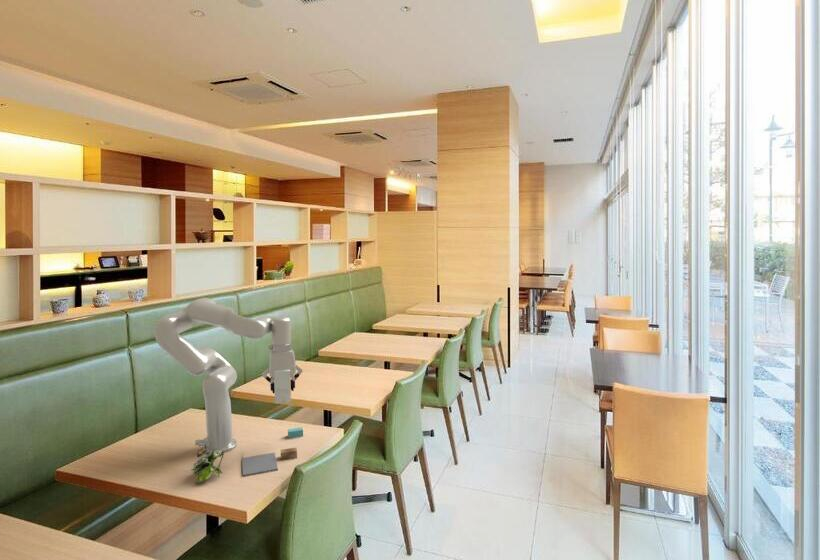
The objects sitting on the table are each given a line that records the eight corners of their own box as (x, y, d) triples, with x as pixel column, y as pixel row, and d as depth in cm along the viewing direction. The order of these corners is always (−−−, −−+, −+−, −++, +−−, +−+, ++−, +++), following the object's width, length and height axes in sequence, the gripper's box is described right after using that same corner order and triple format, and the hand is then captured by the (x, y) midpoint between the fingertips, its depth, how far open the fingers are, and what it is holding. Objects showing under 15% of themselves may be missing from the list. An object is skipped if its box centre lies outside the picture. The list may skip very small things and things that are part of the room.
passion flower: (203, 487, 171) (210, 453, 177) (229, 485, 168) (234, 450, 174) (181, 483, 162) (189, 447, 168) (208, 481, 159) (215, 444, 165)
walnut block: (281, 460, 180) (280, 453, 180) (281, 457, 183) (280, 449, 183) (297, 458, 182) (296, 450, 181) (296, 454, 184) (296, 447, 184)
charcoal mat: (243, 476, 168) (243, 474, 168) (242, 459, 181) (242, 457, 181) (277, 470, 172) (277, 468, 172) (274, 453, 185) (274, 452, 185)
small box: (291, 402, 187) (290, 370, 186) (274, 403, 186) (273, 371, 185) (291, 396, 195) (290, 365, 194) (275, 397, 194) (274, 366, 193)
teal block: (288, 439, 199) (288, 432, 199) (288, 436, 202) (287, 429, 202) (303, 436, 201) (302, 429, 201) (302, 434, 204) (301, 427, 204)
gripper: (259, 351, 182) (261, 396, 184) (305, 347, 188) (306, 391, 190) (258, 347, 189) (259, 390, 191) (302, 344, 195) (303, 385, 197)
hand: (282, 390), depth 190 cm, fingers closed on small box, 6 cm apart
